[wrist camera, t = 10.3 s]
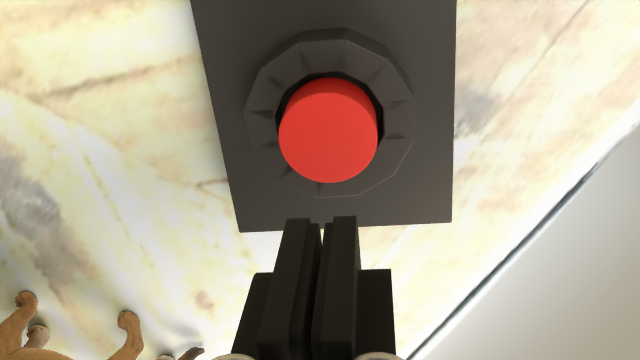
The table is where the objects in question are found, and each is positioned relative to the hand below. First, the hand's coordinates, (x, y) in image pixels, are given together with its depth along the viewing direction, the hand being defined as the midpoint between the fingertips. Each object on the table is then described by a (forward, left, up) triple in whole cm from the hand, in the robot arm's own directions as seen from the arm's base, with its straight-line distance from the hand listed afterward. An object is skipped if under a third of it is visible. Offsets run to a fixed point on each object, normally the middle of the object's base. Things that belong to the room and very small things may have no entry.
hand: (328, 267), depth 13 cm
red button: (0, 0, -9) cm, 9 cm away
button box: (0, 0, -13) cm, 13 cm away
